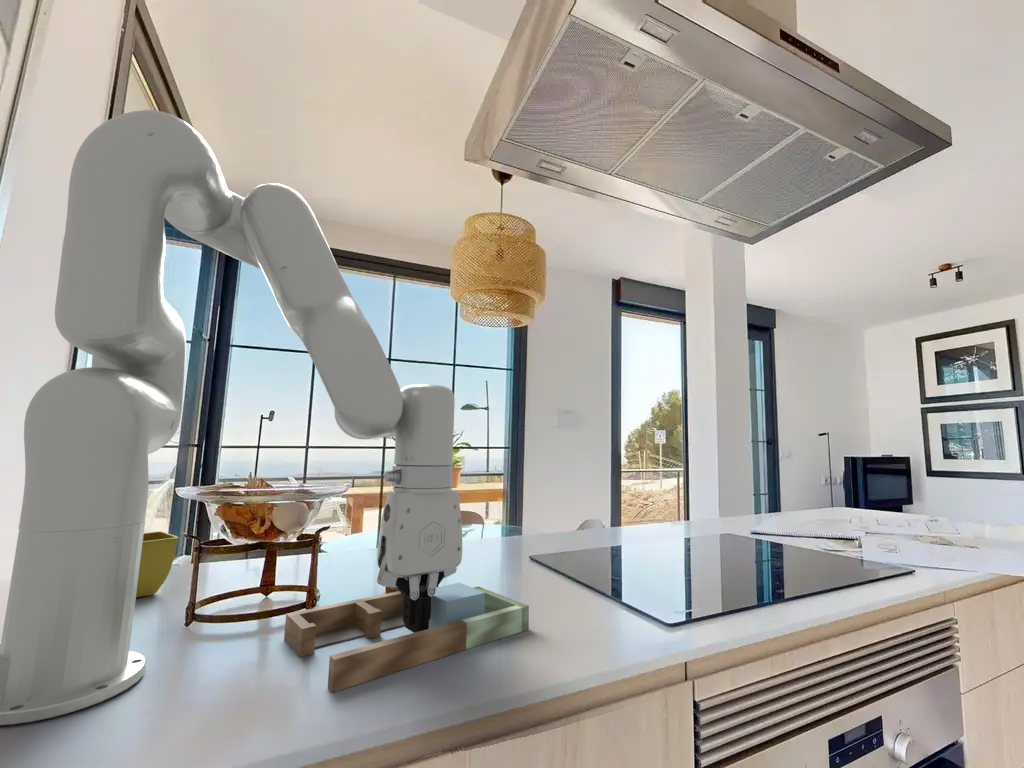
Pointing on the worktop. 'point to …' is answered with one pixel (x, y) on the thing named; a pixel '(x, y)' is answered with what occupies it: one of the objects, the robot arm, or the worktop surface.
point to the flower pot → (155, 561)
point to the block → (455, 604)
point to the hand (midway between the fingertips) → (416, 629)
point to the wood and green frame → (399, 652)
